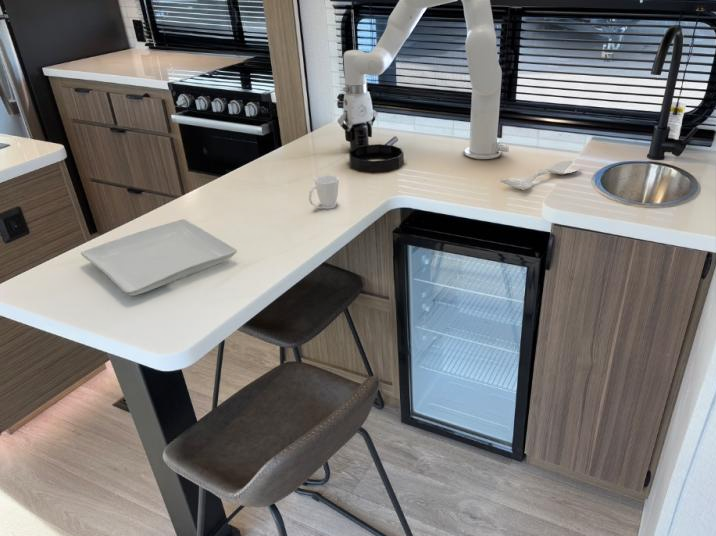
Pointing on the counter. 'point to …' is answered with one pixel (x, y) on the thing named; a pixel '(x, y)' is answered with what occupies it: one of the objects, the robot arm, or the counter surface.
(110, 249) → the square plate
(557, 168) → the spoon
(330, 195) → the cup
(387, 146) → the pan
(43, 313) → the counter surface
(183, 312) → the counter surface
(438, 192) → the counter surface
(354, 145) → the supplement bottle
